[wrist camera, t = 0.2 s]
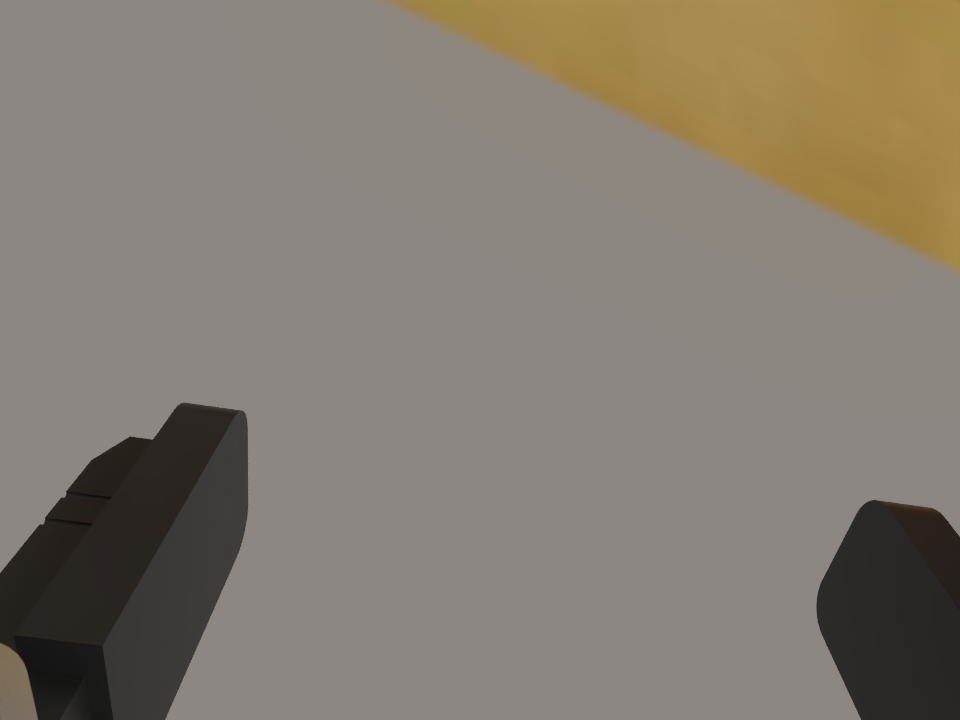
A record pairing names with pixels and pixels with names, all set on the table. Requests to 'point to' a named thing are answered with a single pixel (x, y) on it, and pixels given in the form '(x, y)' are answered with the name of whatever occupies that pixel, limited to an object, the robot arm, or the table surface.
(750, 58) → the table surface
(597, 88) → the table surface
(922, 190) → the table surface
